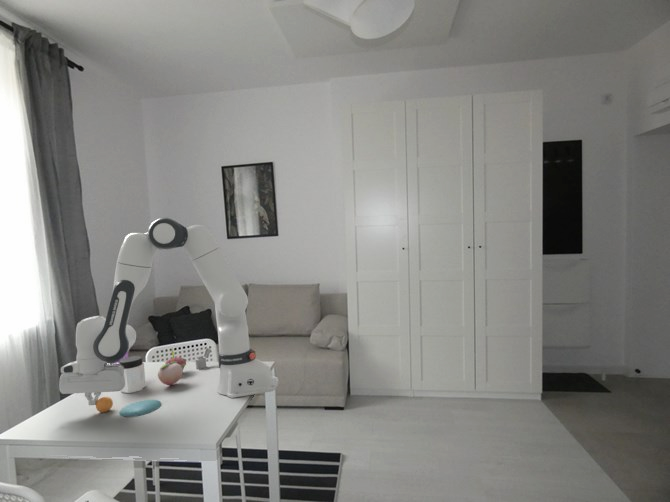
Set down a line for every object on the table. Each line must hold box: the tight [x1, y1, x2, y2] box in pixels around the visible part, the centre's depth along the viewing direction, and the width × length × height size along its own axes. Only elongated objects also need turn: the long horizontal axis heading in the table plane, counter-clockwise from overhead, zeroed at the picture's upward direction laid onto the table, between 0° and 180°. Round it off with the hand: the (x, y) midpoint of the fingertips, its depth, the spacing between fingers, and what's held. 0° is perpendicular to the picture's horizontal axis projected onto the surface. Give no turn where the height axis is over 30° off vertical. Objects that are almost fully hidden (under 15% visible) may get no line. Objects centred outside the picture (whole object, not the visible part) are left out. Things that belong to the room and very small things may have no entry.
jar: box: [118, 355, 147, 394], centre depth 157 cm, size 9×8×12 cm
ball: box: [95, 396, 114, 413], centre depth 137 cm, size 5×5×5 cm
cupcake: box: [164, 348, 187, 370], centre depth 172 cm, size 9×8×12 cm
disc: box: [118, 399, 162, 418], centre depth 138 cm, size 13×13×1 cm
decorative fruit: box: [157, 361, 184, 387], centre depth 158 cm, size 9×8×10 cm
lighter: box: [195, 347, 212, 370], centre depth 179 cm, size 7×2×8 cm, turn 143°
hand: (93, 404), depth 137 cm, fingers closed
